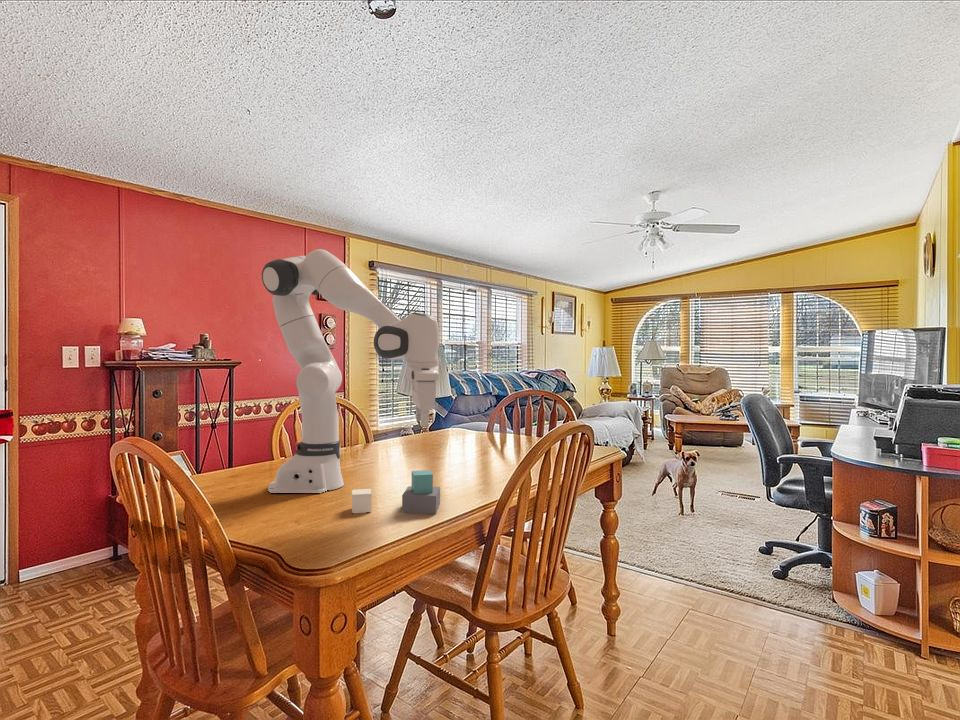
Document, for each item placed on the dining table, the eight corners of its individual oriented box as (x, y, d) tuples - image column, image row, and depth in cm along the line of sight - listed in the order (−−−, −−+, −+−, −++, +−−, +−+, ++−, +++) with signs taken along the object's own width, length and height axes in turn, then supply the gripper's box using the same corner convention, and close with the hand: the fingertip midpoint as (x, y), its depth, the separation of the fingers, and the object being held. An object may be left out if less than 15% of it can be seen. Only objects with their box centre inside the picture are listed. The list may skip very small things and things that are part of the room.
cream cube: (351, 513, 140) (352, 494, 140) (352, 507, 145) (352, 489, 145) (371, 512, 141) (371, 493, 141) (370, 506, 146) (370, 488, 146)
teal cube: (414, 494, 142) (414, 475, 142) (411, 489, 147) (411, 470, 146) (432, 492, 143) (432, 474, 143) (429, 487, 148) (429, 470, 148)
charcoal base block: (402, 514, 141) (402, 495, 140) (408, 504, 150) (408, 486, 149) (436, 514, 140) (436, 496, 140) (440, 504, 149) (440, 487, 149)
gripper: (407, 370, 154) (406, 418, 155) (415, 374, 134) (414, 429, 135) (428, 370, 156) (428, 417, 156) (440, 374, 136) (439, 428, 136)
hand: (421, 423), depth 145 cm, fingers open, 8 cm apart
